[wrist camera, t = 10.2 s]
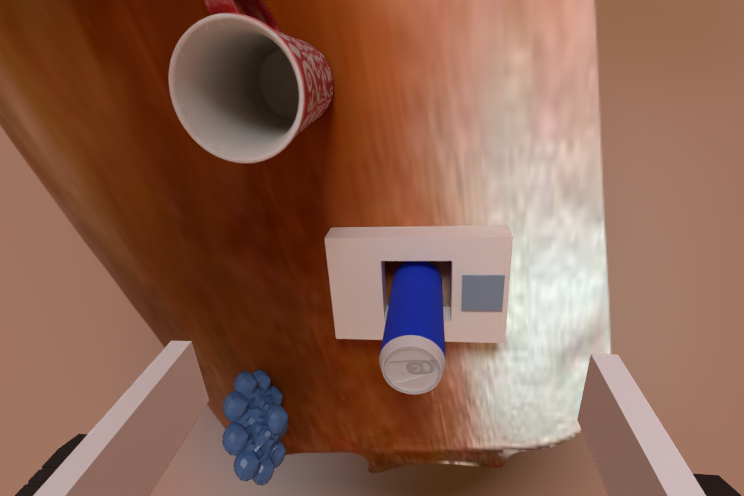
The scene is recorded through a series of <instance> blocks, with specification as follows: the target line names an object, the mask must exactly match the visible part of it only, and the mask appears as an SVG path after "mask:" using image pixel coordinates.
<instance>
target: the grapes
mask: <svg viewBox="0 0 744 496" xmlns="http://www.w3.org/2000/svg"><path fill="white" fill-rule="evenodd" d="M270 382H271V380H270V378H269V376H268V374H267V373H265V372H264V371H262V370H257V371H254V372H253V374H251V373H250V372H247V371H243V372H241V373H239V375H238V376H237V377H236V379H235V382H234V387H233V388H234V392H231V393H229V394H228V396H227V397H226V398H225V401H224V404H223V413H224V415H225V417H226V418H227V419H228V420H229V421H230V422H234V423H231V424H229V426H228V427H227V428H226V430H225V432H224V435H223V440H222V442H223V446H224V448H225V450H226V451H227V452H228V453H229V454H230V455H235V456H236V458H235V461H234V471H235V473H236V475H237V476H238V477H239V479H240V480H243V481H248V480H250V479H253V480H254V481H255V483H257V484H258V485H264V484H266V483H268V481H269V480H270V479H271V477H272V475H273V472H274V468H276V467H278V466H279V465H280V464H281V463H282V461H283V459H284V456H285V453H286V449H285V446H284V444H283V443H282V442H281V441H280V439H281V438H283V436H284V435H285V433H286V431H287V428H288V424H289V422H288V414H287V412H286V411H285V409H284V408H283V407H282V406H281V402H282V398H283V395H282V393H281V392H280V390H279V389H278V388H277V387H275V386H272V385H271V386H270Z"/></svg>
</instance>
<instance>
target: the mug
mask: <svg viewBox="0 0 744 496" xmlns="http://www.w3.org/2000/svg"><path fill="white" fill-rule="evenodd" d="M235 1H236V3H237V4H238V5H239V6H240V7H241V9H242V10H243V12H244V13H245V14H246V15H244V14H241V12H240V11H239V9H238V7H237V5H236V4H235V2H234V0H203V2H204V4H205V6H206V8H207V10H208V12H209V14H210V16H208V17H206V18H204V19H201V20H199V21H198V22H196V23H195V24H193V25H192V26H191V27H190V28H189V29H188V30H187V31H186V32H185V33H184V34H183V35H182V36H181V38H180V39H179V41H178V43H177V44H176V46H175V49H174V51H173V54H172V57H171V60H170V66H169V75H168V80H169V91H170V96H171V101H172V104H173V107H174V110H175V112H176V114H177V116H178V118H179V120H180V122H181V124H182V125H183V127H184V128H185V130H186V131H187V132H188V134H189V135H190V136H191V137H192V138H193V139H194V141H195V142H196V143H198V144H199V145H200V146H201V147H202V148H203V149H205V150H206V151H208V152H209V153H211V154H213V155H215V156H216V157H219V158H221V159H224V160H227V161H230V162H235V163H257V162H262V161H265V160H268V159H270V158H272V157H274V156H276V155H277V154H279V153H280V152H282V151H283V150H284V149H285V148H286V147H287V146H288V145H289V144H290V143H291V142H292V140H293V139H294V138H295V136H297V135H298V134H299V133H300V132H302V131H303V130H304V129H305V128H307V127H308V126H309V125H310V124H311V123H313V122H314V121H315V120H316V119H318V118H319V117H320V116H321V115H322V114H323V113H324V112H325V111H326V109H327V108H328V106H329V104H330V102H331V99H332V96H333V91H334V81H333V74H332V71H331V68H330V66H329V64H328V62H327V60H326V59H325V57H324V56H323V55H322V53H321V52H320V51H319V50H318V49H317V48H315V47H314V46H312V45H311V44H309V43H307V42H305V41H302V40H300V39H296V38H294V37H291V36H288V35H286V34H284V33H283V32H282V30H281V29H280V27H279V26H278V24H277V22H276V20H275V19H274V17H273V15H272V14H271V12H270V10H269V9H268V7H267V6H266V4H265V3H264V1H263V0H235Z"/></svg>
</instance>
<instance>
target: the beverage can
mask: <svg viewBox="0 0 744 496" xmlns="http://www.w3.org/2000/svg"><path fill="white" fill-rule="evenodd" d="M379 363H380V367H381V371H382V374H383V376H384V378H385V380H386V381H387V383H388V384H389V385H390V386H391V387H393V388H394V389H396V390H397V391H400V392H402V393H406V394H413V395H416V394H423V393H426V392H429V391H430V390H432V389H433V388H435V387H436V386H437V385H438V383H439V382H440V380H441V378H442V375H443V373H444V371H445V367H446V356H445V335H444V315H443V295H442V278H441V274H440V272H439V270H438V269H437V268H436V267H435V266H434V265H433V264H431V263H430V262H428V261H406V262H404V263H403V264H401V265H400V266H399V267H398V268H397V270H396V271H395V274H394V278H393V283H392V289H391V294H390V300H389V306H388V311H387V317H386V323H385V328H384V334H383V340H382V345H381V351H380V357H379Z"/></svg>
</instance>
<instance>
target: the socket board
mask: <svg viewBox="0 0 744 496" xmlns="http://www.w3.org/2000/svg"><path fill="white" fill-rule="evenodd" d="M324 239H325V248H326V256H327V265H328V273H329V282H330V291H331V299H332V308H333V316H334V325H335V334H336V339H366V340H383V334H384V328H385V323H386V317H387V311H388V306H387V295H386V277H385V261H451V281H450V307H443V315H444V335H445V342H477V343H505V332H506V319H507V306H508V293H509V280H510V268H511V255H512V242H513V236H512V234H511V232H510V229H509V227H508V225H493V226H414V227H334V228H330V230H329V232H328V233H327V235H326V237H325V238H324Z"/></svg>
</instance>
